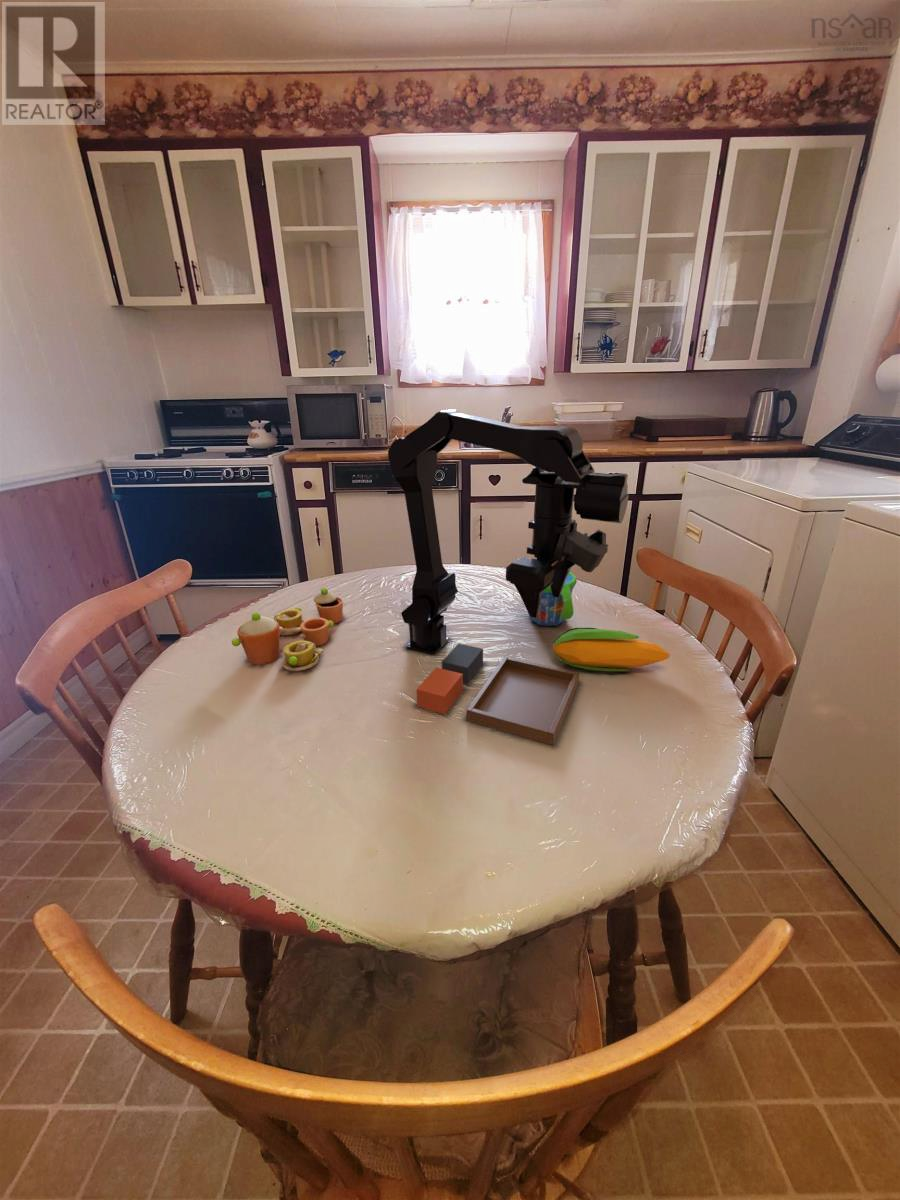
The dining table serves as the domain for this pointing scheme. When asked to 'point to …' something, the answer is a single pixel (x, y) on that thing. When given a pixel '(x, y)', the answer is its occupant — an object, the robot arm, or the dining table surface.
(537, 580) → the robot arm
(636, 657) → the corn
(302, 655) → the toy tea set
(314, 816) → the dining table surface
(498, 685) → the tray
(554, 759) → the dining table surface
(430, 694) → the orange red rectangular block
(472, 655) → the dark grey rectangular block
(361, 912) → the dining table surface
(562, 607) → the snack cup
